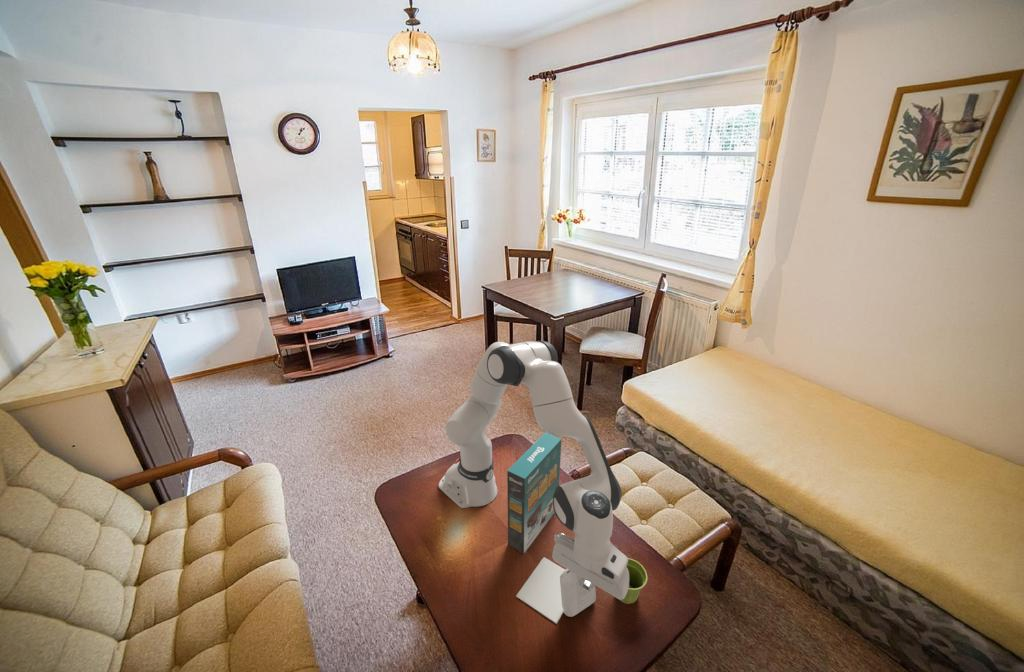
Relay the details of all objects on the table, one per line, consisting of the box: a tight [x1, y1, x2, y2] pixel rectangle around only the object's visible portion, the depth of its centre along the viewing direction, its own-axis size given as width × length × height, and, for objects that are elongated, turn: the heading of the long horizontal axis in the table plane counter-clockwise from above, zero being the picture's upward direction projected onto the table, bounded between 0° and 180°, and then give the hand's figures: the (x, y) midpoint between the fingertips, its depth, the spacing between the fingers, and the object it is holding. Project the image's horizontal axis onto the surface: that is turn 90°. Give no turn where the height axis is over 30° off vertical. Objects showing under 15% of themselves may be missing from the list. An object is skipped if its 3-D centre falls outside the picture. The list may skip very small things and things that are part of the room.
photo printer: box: [560, 568, 597, 618], centre depth 113 cm, size 10×4×12 cm, turn 124°
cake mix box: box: [506, 431, 562, 555], centre depth 133 cm, size 22×6×30 cm, turn 146°
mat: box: [515, 557, 566, 625], centre depth 119 cm, size 13×15×1 cm
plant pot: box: [619, 557, 648, 605], centre depth 116 cm, size 9×9×9 cm
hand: (587, 587), depth 110 cm, fingers closed
